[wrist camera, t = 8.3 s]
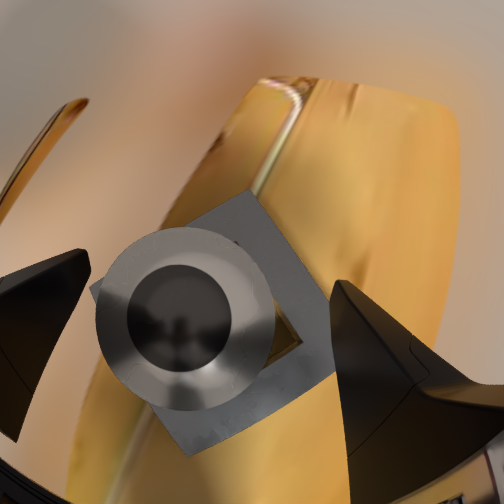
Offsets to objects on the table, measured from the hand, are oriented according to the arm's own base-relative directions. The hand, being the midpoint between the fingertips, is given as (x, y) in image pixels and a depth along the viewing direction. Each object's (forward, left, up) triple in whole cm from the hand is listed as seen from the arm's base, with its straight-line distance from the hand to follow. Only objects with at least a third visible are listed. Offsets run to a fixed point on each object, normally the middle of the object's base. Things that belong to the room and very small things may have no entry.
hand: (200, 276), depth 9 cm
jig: (-1, -1, -9) cm, 9 cm away
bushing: (-1, -1, -9) cm, 9 cm away
